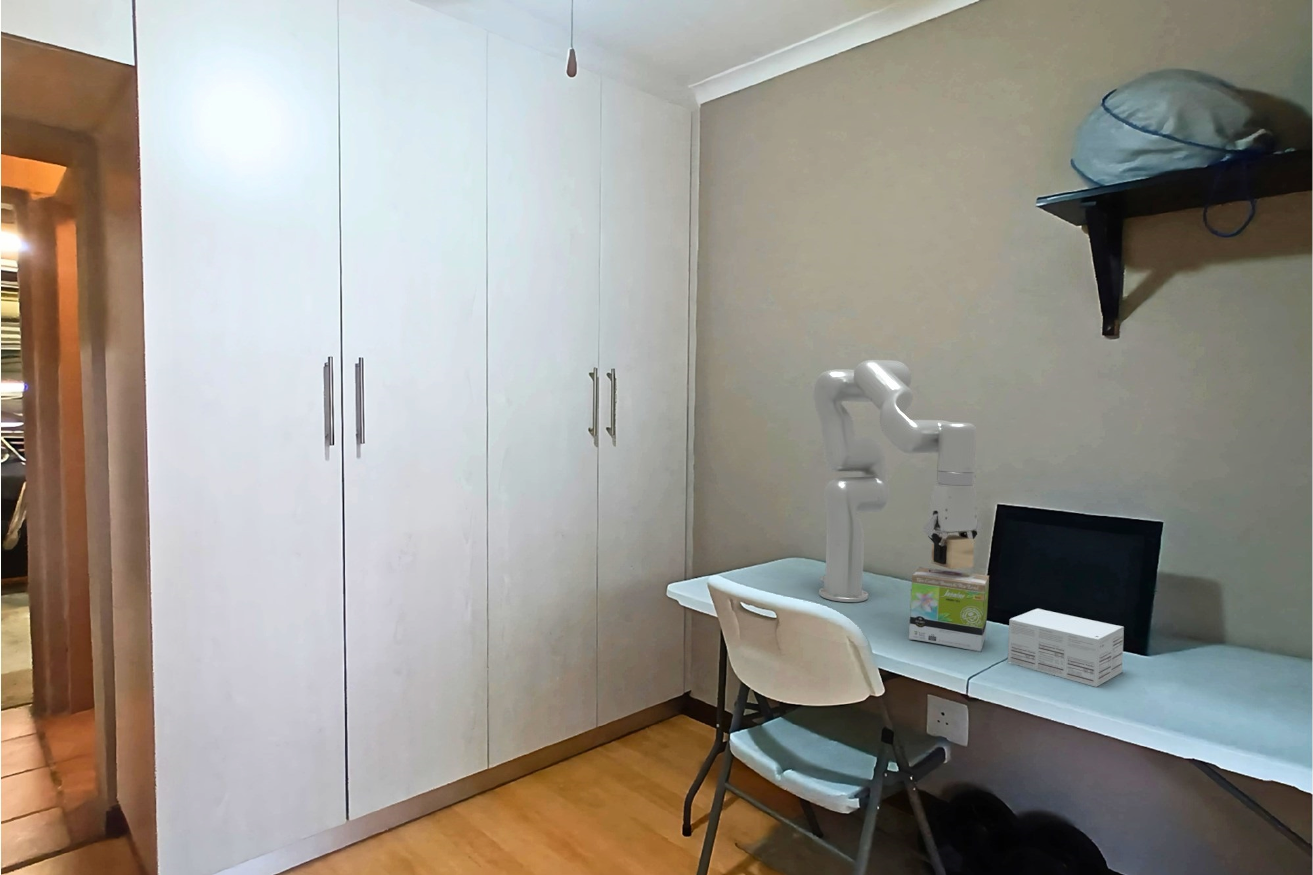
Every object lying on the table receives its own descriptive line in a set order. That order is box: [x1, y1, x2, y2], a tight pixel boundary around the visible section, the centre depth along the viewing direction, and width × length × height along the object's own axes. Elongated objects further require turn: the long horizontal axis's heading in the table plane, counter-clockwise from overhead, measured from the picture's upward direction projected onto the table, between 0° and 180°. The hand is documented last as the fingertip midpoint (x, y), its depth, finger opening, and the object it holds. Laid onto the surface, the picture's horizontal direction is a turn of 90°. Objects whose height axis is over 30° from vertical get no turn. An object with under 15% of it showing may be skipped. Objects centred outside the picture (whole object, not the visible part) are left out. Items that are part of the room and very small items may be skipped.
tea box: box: [908, 566, 990, 653], centre depth 168 cm, size 15×10×15 cm, turn 62°
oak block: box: [930, 534, 975, 570], centre depth 167 cm, size 6×6×6 cm
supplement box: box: [1007, 608, 1125, 688], centre depth 153 cm, size 17×13×9 cm
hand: (951, 561), depth 167 cm, fingers closed on oak block, 6 cm apart
